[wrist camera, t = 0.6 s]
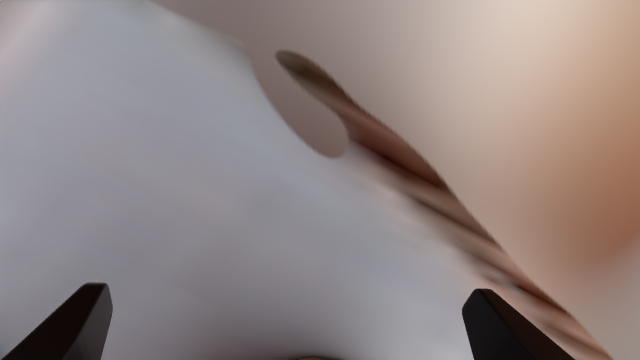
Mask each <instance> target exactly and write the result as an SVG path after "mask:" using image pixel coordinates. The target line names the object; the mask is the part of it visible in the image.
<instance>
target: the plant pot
mask: <svg viewBox="0 0 640 360" xmlns="http://www.w3.org/2000/svg"><path fill="white" fill-rule="evenodd" d="M297 360H323V359H321V358H318V357H313V358H303V359H297Z"/></svg>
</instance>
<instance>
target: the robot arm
mask: <svg viewBox="0 0 640 360" xmlns="http://www.w3.org/2000/svg"><path fill="white" fill-rule="evenodd" d="M112 311H113V305H112V300H111V296H110V291H109V287H108V285H107V284H106V283H92V282H90V283H86V284H84V285H82V286H81V287H80V288H79V289H78V290H77V291H76V292H75V293H74V294H72V295H71V296H70V297H69V298H68V299H67V300H66V301H65V302H64V303H63V304H62V305H61V306H59V307H58V308H57V309H56V310H55V311H54V312H53V313H52V314H51V315H50V316H49V317H47V318H46V319H45V320H44V321H43V322H42V323H41V324H40V325H39V326H38V327H37V328H35V329H34V330H33V331H32V332H31V333H30V334H29V335H28V336H27V337H26V338H25V339H23V340H22V341H21V342H20V343H19V344H18V345H17V346H16V347H15V348H14V349H13V350H11V351H10V352H9V353H8V354H7V355H6V356H5V357H4V358H3V359H2V360H101V356H102V352H103V348H104V344H105V341H106V337H107V333H108V329H109V325H110V321H111V317H112ZM462 316H463V320H464V324H465V327H466V331H467V335H468V339H469V342H470V346H471V350H472V354H473V357H474V360H575V359H574V358H573V357H571V356H570V355H569V354H568V353H567V352H565V351H564V350H563V349H562V348H561V347H559V346H558V345H557V344H556V343H555V342H553V341H552V340H551V339H550V338H549V337H548V336H546V335H545V334H544V333H543V332H542V331H540V330H539V329H538V328H537V327H536V326H534V325H533V324H532V323H531V322H530V321H528V320H527V319H526V318H525V317H524V316H523V315H521V314H520V313H519V312H518V311H517V310H515V309H514V308H513V307H512V306H511V305H509V304H508V303H507V302H506V301H505V300H503V299H502V298H501V297H500V296H499V295H498V294H496V293H495V292H494V291H492V290H491V289H475V290H474V291H473V292H472V293H471V295H470V296H469V298H468V299H467V301H466V302H465V304H464V305H463V308H462Z"/></svg>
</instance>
